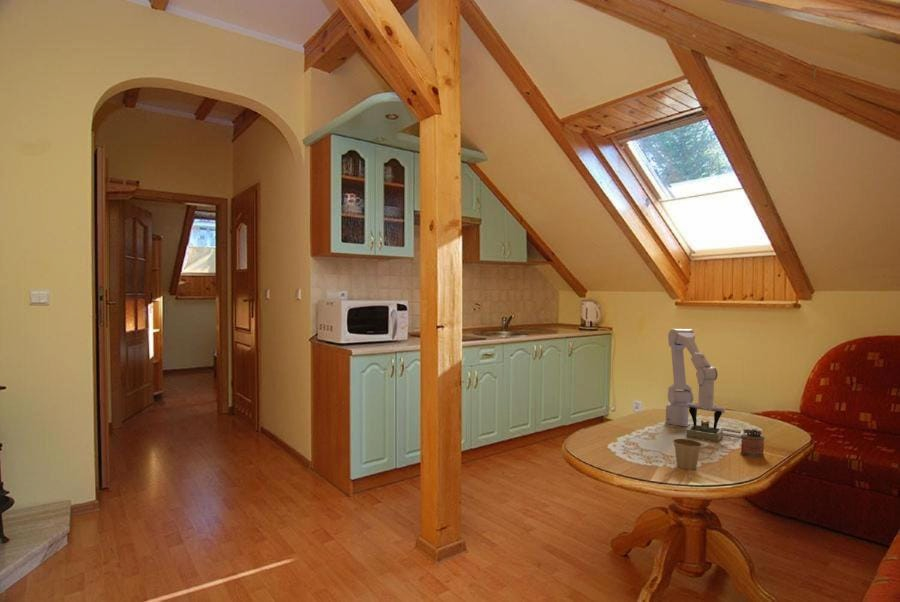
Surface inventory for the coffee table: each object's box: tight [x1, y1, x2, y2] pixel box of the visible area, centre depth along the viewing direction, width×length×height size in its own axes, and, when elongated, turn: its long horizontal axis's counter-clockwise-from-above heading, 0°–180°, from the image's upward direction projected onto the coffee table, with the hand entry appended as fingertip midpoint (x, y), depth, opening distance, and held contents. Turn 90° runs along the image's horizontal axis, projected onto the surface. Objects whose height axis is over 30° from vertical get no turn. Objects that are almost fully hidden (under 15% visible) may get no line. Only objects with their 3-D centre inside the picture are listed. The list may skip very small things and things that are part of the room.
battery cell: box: [700, 419, 710, 433], centre depth 217 cm, size 3×3×6 cm
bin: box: [686, 423, 724, 443], centre depth 217 cm, size 12×12×3 cm
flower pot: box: [672, 438, 703, 471], centre depth 178 cm, size 9×9×9 cm
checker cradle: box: [718, 426, 745, 439], centre depth 223 cm, size 10×10×1 cm
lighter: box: [740, 428, 766, 458], centre depth 192 cm, size 8×3×10 cm, turn 84°
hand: (704, 427), depth 217 cm, fingers open, 7 cm apart
